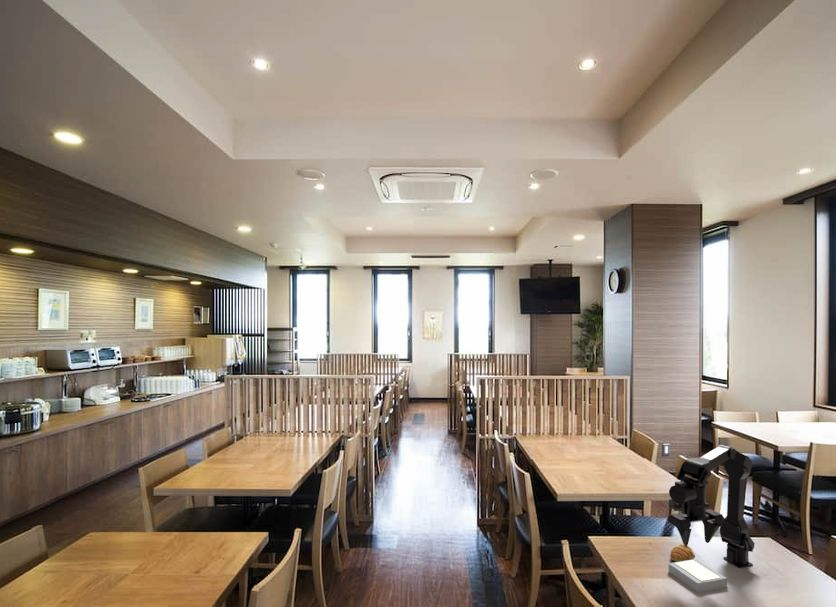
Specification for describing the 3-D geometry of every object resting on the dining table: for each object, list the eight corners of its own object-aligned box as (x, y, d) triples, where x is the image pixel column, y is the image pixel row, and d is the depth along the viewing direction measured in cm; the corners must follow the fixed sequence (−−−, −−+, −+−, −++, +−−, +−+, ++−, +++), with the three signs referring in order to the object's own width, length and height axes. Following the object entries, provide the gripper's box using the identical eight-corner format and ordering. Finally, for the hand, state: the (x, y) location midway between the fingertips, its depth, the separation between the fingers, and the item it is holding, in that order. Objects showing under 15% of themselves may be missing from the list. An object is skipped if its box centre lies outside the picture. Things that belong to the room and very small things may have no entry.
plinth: (696, 567, 158) (695, 558, 158) (727, 587, 146) (726, 577, 146) (668, 572, 155) (668, 562, 155) (698, 592, 143) (697, 582, 143)
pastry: (684, 567, 157) (684, 557, 157) (664, 558, 163) (665, 548, 163) (696, 559, 163) (696, 548, 163) (677, 550, 168) (677, 540, 168)
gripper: (697, 487, 162) (697, 529, 161) (655, 491, 157) (655, 535, 156) (725, 499, 151) (726, 545, 150) (681, 504, 146) (681, 552, 146)
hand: (696, 544), depth 151 cm, fingers open, 9 cm apart
